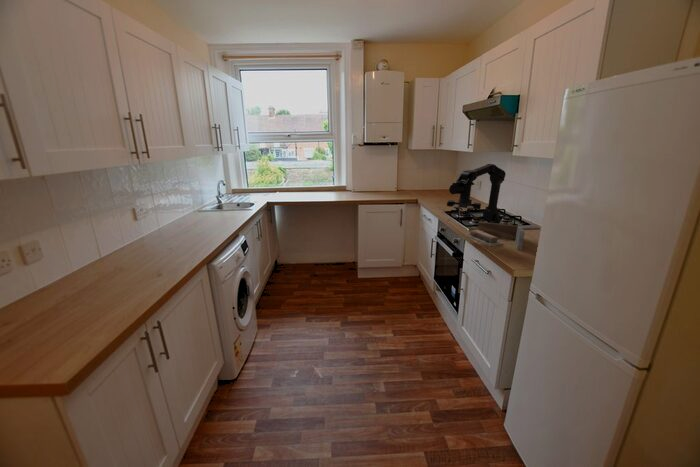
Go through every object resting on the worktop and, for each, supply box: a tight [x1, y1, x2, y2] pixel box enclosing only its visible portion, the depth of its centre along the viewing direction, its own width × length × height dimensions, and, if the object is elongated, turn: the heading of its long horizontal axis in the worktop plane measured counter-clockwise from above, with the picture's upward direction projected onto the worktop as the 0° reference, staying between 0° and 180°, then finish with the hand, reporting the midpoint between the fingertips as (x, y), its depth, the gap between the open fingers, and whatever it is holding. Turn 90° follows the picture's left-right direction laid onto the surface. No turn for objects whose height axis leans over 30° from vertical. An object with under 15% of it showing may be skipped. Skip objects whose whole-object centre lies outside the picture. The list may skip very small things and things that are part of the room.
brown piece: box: [477, 221, 526, 251], centre depth 177 cm, size 21×24×10 cm
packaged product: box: [467, 228, 503, 247], centre depth 180 cm, size 18×5×10 cm
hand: (462, 218), depth 182 cm, fingers open, 3 cm apart
